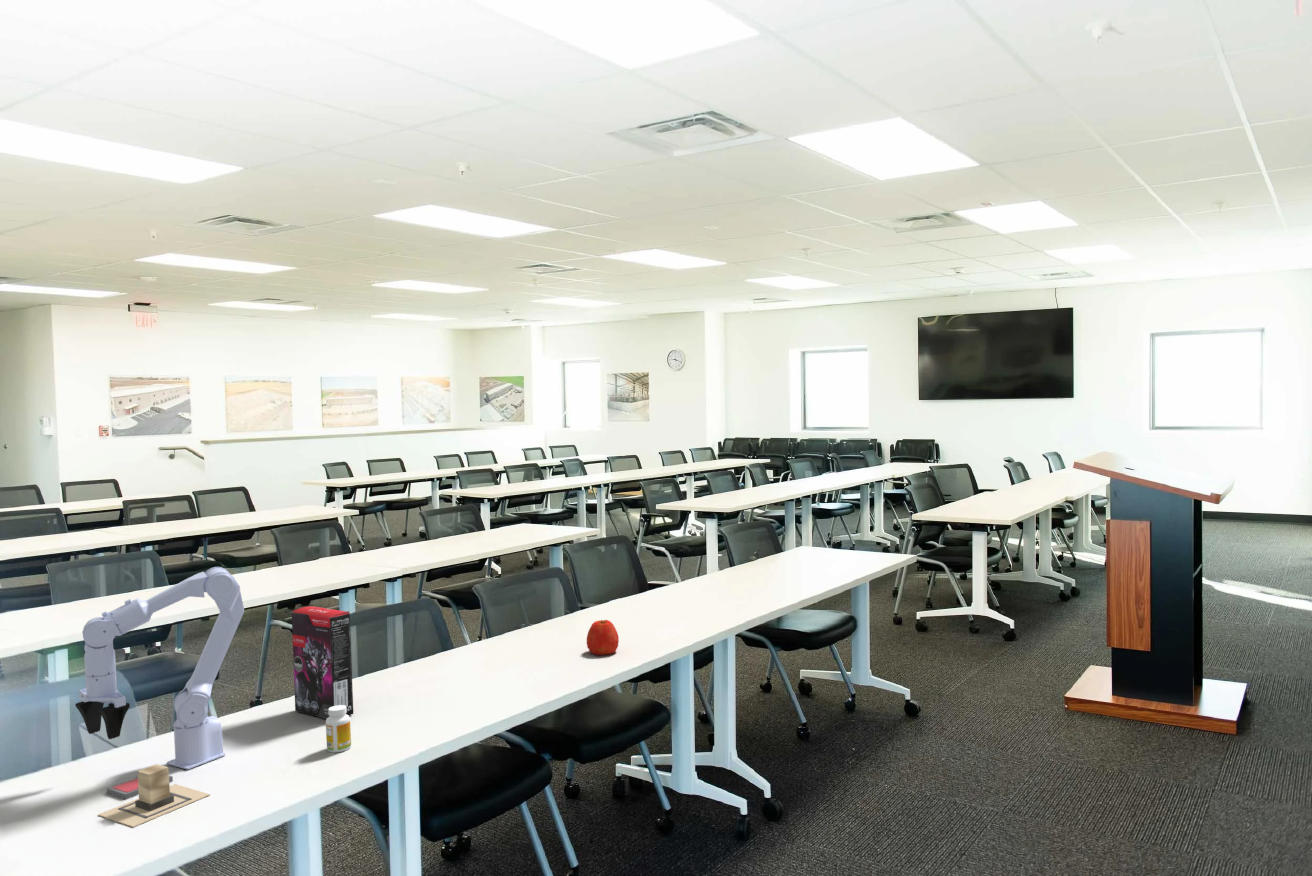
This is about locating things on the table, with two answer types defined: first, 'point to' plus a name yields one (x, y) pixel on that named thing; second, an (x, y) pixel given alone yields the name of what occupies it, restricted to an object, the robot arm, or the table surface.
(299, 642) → the graphics card box
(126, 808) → the cardboard sheet
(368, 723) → the table surface
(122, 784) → the ink pad
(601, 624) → the apple
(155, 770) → the stamp
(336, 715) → the supplement bottle
